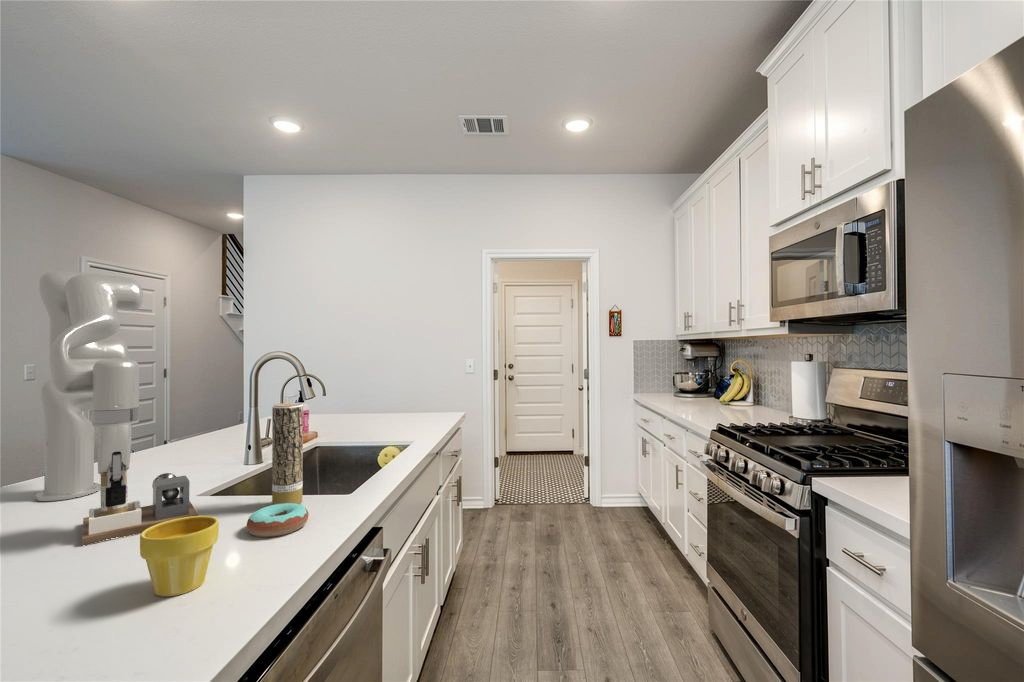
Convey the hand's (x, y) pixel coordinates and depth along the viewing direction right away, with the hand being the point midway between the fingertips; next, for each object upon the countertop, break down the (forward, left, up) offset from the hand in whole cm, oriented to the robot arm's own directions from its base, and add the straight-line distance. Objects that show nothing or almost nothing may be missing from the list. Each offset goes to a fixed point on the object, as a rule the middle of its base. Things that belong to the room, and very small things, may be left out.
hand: (115, 500), depth 96 cm
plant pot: (+38, +7, -7) cm, 39 cm away
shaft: (-4, +9, -3) cm, 11 cm away
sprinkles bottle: (0, 0, -5) cm, 5 cm away
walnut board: (-2, +5, -6) cm, 8 cm away
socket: (0, 0, -5) cm, 5 cm away
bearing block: (+1, +10, -5) cm, 11 cm away
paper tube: (+9, +32, -7) cm, 34 cm away
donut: (+23, +26, -7) cm, 35 cm away
